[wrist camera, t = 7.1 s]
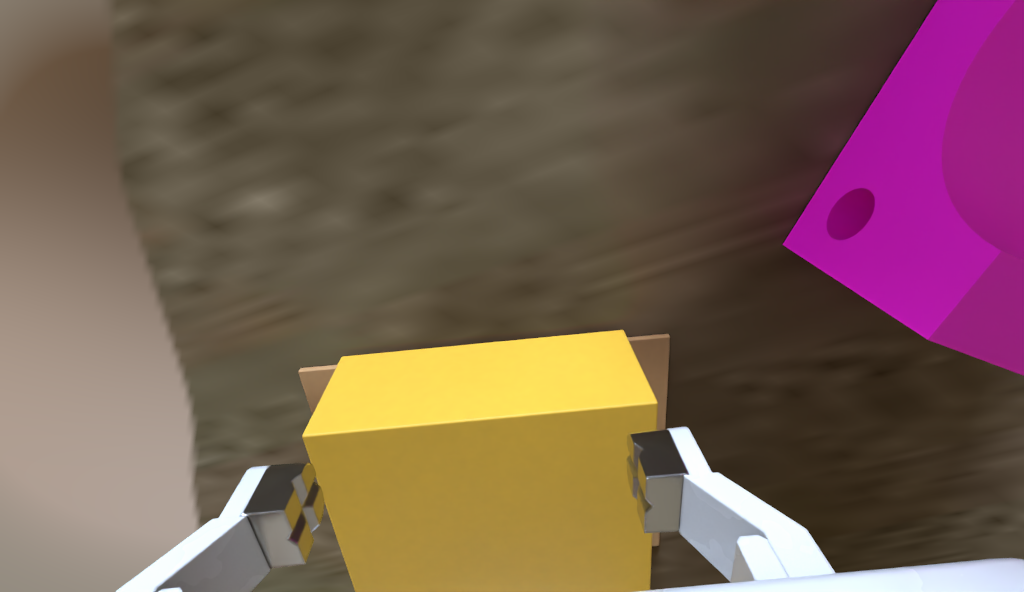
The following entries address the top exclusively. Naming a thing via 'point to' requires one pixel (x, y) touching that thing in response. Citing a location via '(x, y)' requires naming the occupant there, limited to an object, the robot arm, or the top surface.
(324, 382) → the cork pad
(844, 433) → the top surface
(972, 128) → the magenta u-shaped bracket
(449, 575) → the yellow block
